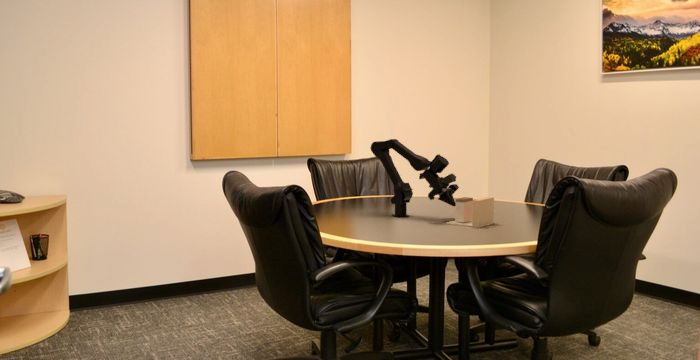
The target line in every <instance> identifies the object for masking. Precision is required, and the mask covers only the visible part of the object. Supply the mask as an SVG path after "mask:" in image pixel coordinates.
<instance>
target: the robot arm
mask: <svg viewBox="0 0 700 360" xmlns="http://www.w3.org/2000/svg"><path fill="white" fill-rule="evenodd" d="M391 149H392V150H394V151H395V152H396V153H397V154H399V156H401V157H402V158H404V159H405V160H407V161H408V162H409V164H410V166H411V167H412V169H413V170H414V171H416V172H420V173H419V178H418V179H419V180H423V179H424V180H425V181H426V182H427V184H429V186H428V187H429V188H431V191H429V193H427V198H429V200H430V201H434V199H435V197H436V196H438V198H437V200H438V201H440V202H441V201H442V202H444V203H445V204H448V205H450V206H452V207H456V200H455V199H454V196H453V195H454V193H456V191H457V190H459V189H460V187H459V185H458V184H457V183H456V184H455V182H457V180H456V179H457V176H456V175H455V174H454V173H452V172H451V173H450V174H448V175H446V176H444V177H443V176H440V175H439V174H442V172H443V171H445V169H446V168H447V167H448V165H449V164H450V162H449V160H448V159H447V158H445V156H443V155H442V156H441V154H436V155H435V157H434V158H433V159H432V160H429V159H428V158H426V157H425V156H422V155H419V154H417V153H415V152H414V151H412V150H411V149H409V148H408V147H407V146H405V145H404V144H403V143H401V142H400V141H399V140H398V139H396V138H391V139H387V140H382V141H378V140H377V141H373V142H372V143H371V144H370V151H371V153H372V154H373V156H374V157H376V158H377V159H378V160H379V161H380V162H381V165H382V166H383V168H384V169H385V173H386V174H387V176H388V177H389V179H390V181H391V183H392V186H393V193H394V195H393V196H392V197H391V199H390V203H391V205H394V213H392V214H391V216H393V217H396V218H403V217H410V215H409V214H407V211H408V210H407V205H408V203H411V199H412V198H413V194H414V193H413V188H412V187H411V185H410V183H409V182H405V181H403V179H402V177H401V175H400V173H399V172H398V170H397V167H396V166H395V164H394V162H393V160H392V159H391V157H390V150H391ZM449 166H450V165H449ZM421 171H423V172H421ZM453 182H454V183H453Z"/></svg>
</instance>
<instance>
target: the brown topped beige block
mask: <svg viewBox="0 0 700 360" xmlns="http://www.w3.org/2000/svg"><path fill="white" fill-rule="evenodd" d="M473 198H474V197H469V196H467V197H466V196H463V197H460V198H455V203H456V206H455V222H467V221H471V220H472V215H473V200H474V199H473Z"/></svg>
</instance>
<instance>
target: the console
mask: <svg viewBox="0 0 700 360" xmlns="http://www.w3.org/2000/svg"><path fill="white" fill-rule="evenodd" d="M494 217H495V197H494V196H486V197H481V198H476V199H473V205H472V220H471V221H467V222H455V220H450V221H446V222H445V224H446V225H451V226H459V227H468V228H475V229H477V228H478V229H479V228H483V227H486V226H489V225H493V224H495V222H494V221H495V220H494V219H495V218H494Z"/></svg>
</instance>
